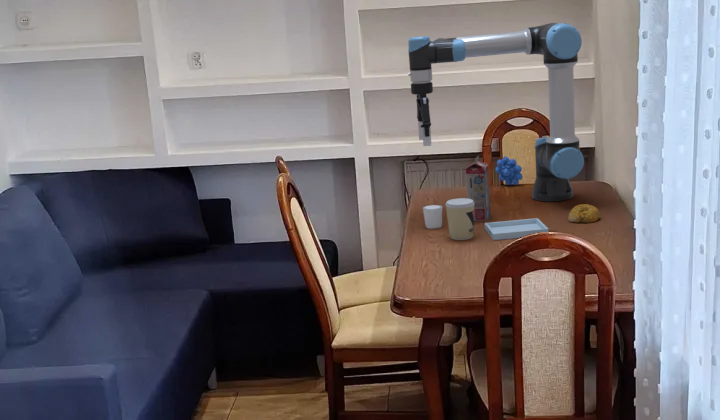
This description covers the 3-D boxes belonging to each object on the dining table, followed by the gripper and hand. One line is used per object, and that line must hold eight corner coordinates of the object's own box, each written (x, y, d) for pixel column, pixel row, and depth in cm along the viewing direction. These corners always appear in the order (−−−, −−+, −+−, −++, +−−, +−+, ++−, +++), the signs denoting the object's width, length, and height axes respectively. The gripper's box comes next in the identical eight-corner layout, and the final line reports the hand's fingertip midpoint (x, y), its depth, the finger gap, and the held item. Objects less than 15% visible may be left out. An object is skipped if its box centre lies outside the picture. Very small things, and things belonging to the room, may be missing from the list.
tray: (537, 224, 286) (537, 218, 285) (548, 235, 272) (548, 228, 272) (484, 229, 285) (484, 223, 285) (493, 240, 272) (493, 234, 271)
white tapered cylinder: (422, 225, 297) (421, 205, 295) (441, 223, 298) (440, 203, 296) (425, 229, 290) (424, 210, 289) (445, 227, 291) (444, 208, 289)
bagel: (561, 220, 289) (560, 206, 288) (587, 214, 293) (586, 201, 292) (579, 226, 280) (579, 212, 279) (606, 220, 284) (606, 206, 283)
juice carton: (490, 216, 301) (487, 155, 296) (487, 220, 295) (484, 159, 290) (472, 215, 304) (469, 155, 298) (468, 220, 297) (465, 159, 292)
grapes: (491, 187, 346) (490, 158, 343) (498, 183, 351) (497, 154, 348) (518, 188, 339) (517, 159, 336) (525, 184, 345) (524, 155, 342)
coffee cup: (475, 240, 273) (473, 204, 270) (446, 241, 275) (444, 205, 272) (476, 232, 282) (475, 197, 279) (448, 233, 284) (446, 198, 281)
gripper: (407, 79, 305) (411, 138, 310) (414, 86, 281) (418, 149, 286) (427, 78, 305) (431, 136, 310) (436, 84, 281) (440, 147, 286)
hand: (425, 142), depth 298 cm, fingers open, 13 cm apart
